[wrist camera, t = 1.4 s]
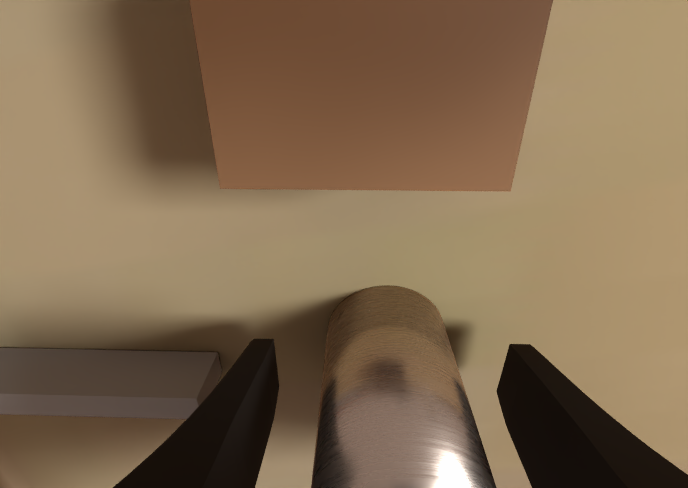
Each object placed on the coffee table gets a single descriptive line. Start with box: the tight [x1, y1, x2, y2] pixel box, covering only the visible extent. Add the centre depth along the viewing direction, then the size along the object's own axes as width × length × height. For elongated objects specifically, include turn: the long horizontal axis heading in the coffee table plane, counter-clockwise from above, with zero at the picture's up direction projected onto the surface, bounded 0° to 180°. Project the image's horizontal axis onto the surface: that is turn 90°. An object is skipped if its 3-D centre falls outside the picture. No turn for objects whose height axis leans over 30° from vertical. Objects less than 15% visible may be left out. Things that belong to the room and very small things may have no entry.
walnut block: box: [189, 0, 553, 191], centre depth 7 cm, size 4×4×4 cm
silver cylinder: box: [311, 286, 496, 488], centre depth 10 cm, size 4×4×6 cm
